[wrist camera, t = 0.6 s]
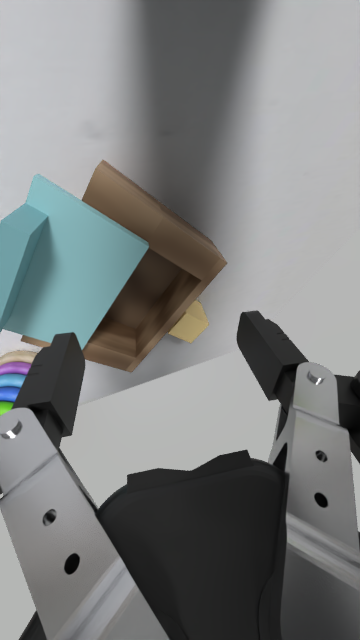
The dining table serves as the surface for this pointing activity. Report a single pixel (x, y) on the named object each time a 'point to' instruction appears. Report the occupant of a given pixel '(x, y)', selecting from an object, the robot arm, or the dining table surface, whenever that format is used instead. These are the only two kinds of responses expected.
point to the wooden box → (146, 272)
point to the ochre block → (190, 323)
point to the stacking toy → (13, 376)
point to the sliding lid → (61, 264)
